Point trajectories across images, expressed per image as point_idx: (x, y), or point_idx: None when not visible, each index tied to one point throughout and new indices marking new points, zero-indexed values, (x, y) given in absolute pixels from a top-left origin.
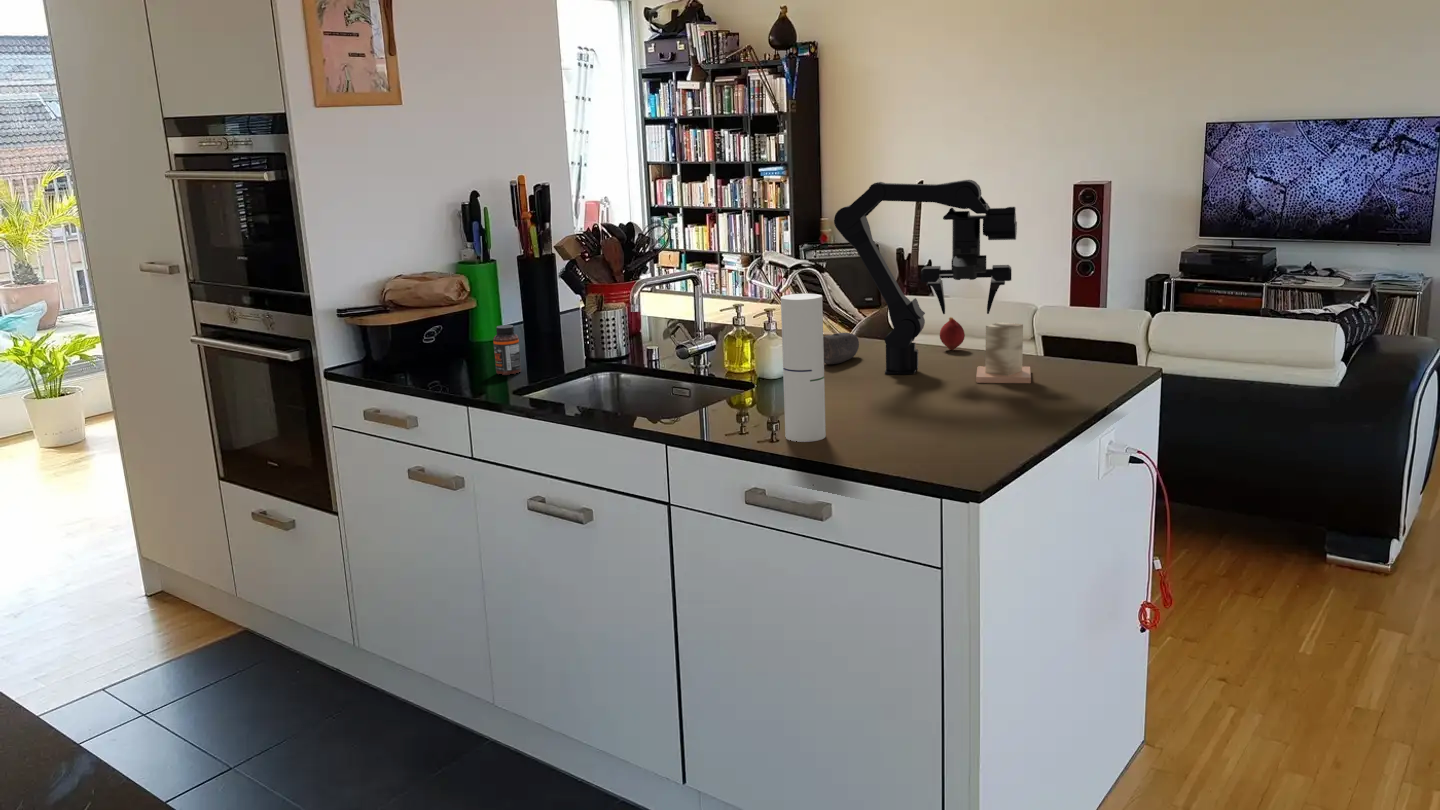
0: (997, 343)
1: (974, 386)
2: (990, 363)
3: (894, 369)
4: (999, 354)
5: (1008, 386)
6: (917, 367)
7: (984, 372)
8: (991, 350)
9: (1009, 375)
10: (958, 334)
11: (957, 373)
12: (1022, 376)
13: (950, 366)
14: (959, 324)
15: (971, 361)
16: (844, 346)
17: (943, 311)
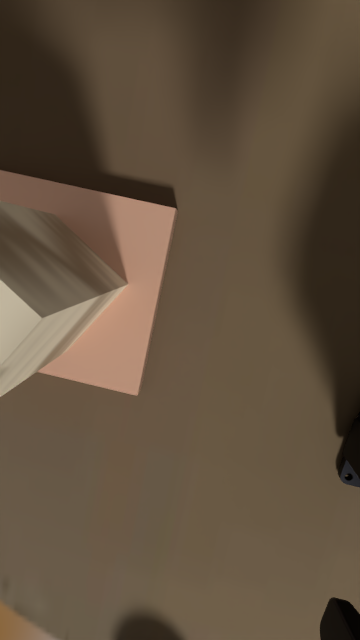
0: (29, 246)
1: (195, 150)
2: (100, 271)
3: None
4: (48, 239)
5: (75, 130)
6: (357, 421)
7: (130, 287)
8: (75, 271)
9: None
10: None
11: (212, 377)
12: (7, 189)
13: (213, 485)
14: None
15: (133, 538)
16: None
17: (356, 619)
